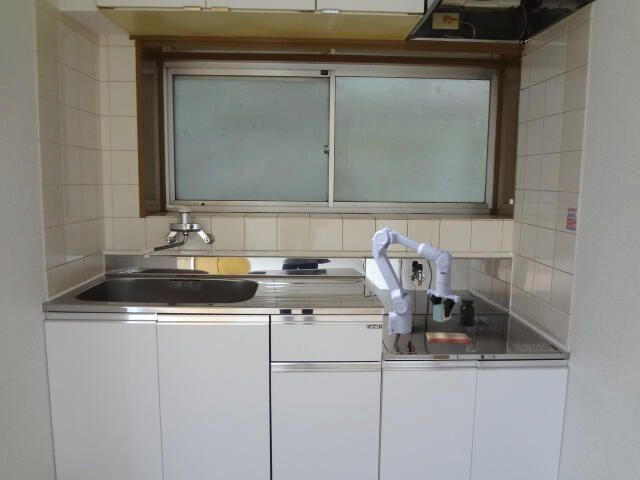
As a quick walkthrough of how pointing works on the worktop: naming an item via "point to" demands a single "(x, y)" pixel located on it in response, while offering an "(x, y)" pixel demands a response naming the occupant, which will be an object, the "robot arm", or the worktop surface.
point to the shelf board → (448, 337)
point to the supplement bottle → (467, 312)
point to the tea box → (440, 313)
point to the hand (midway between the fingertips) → (442, 315)
